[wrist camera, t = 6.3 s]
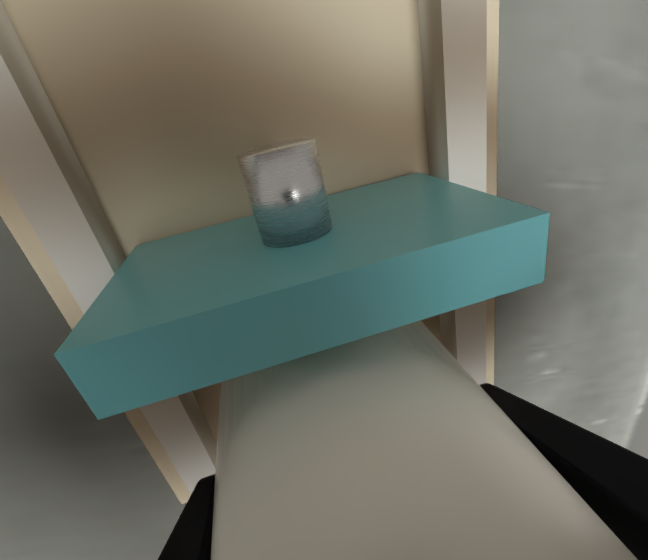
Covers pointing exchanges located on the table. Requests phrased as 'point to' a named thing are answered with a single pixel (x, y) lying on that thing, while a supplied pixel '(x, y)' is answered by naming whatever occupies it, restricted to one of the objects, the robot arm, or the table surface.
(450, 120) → the lane
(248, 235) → the plate
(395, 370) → the jar
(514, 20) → the table surface
